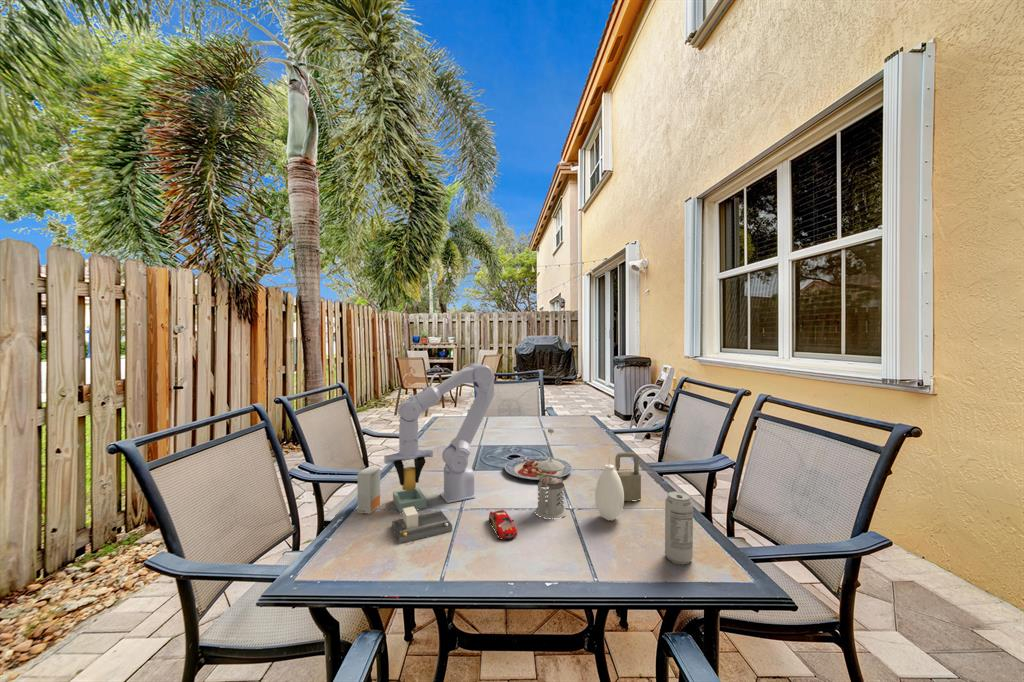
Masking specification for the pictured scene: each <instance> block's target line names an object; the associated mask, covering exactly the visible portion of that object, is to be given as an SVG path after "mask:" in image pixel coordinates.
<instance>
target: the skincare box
mask: <svg viewBox="0 0 1024 682" xmlns="http://www.w3.org/2000/svg"><path fill="white" fill-rule="evenodd" d="M379 506H380V507H381V467H375V466H368V467H366V468H363V469H362V470H361V471H359V472H358V473H357V513H358V512H360V513H359V514H363V513H368V514H367V515H370V513H371V514H372V513H373V512H374V511H375V509H376V510H377V509H378V508H380V507H379Z"/></svg>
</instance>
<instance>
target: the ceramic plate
mask: <svg viewBox="0 0 1024 682" xmlns="http://www.w3.org/2000/svg"><path fill="white" fill-rule="evenodd" d="M545 460H555V461H559V462H560V463H562V464H563V465H564V466H565V467H564V469H563V470H561V471H557V472H546V471H542V470H540V469H539V468H538V467H537V465H538V464H539V463H541V462H542V461H545ZM503 468H504V470H505V471H506V473H508V474H510V475H511V476H514V477H517V478H520V479H527V480H535V481H536V480H537V481H539V478H540V477H542V476H543V475H544V476H546V475H552V476H558V477H561V478H563V477H565V476H567V475H569V474H570V473H571V472H572V471H573V467H572V465H571V464H570V463H569V462H567V461H565V460H563V459H560V458H558V457H557V458H556V457H552V456H542V455H541V456H540V455H538V456H536V455H535V456H533V455H531V456H524V457H523V456H522V457H516V458H514V459H511V460H509V461H507V462H506V463H505V464H504V467H503Z"/></svg>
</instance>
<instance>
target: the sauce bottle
mask: <svg viewBox="0 0 1024 682" xmlns="http://www.w3.org/2000/svg"><path fill="white" fill-rule="evenodd" d="M617 472H618V471H617V469H616V468H615V466H614V465H613V464H611V457H610V456H609V457H608V464H605V466H604V469H602V471H601V473H600V475H599V477H598V479H597V482H596V487H595V492H594V494H595V495H594V499H595V501H594V502H595V505H596V508H597V511H598V513H599V514H600V516H602V517H603V518H604V519H605V520H607V521H609V520H611V521H614V520H616V519H617V518H618V517H620V515H621V514H622V511H623V509H624V504H625V502H624V491H623V486H622V482H621V480H620V477H619V475H618V473H617Z"/></svg>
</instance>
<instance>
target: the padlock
mask: <svg viewBox="0 0 1024 682" xmlns="http://www.w3.org/2000/svg"><path fill="white" fill-rule="evenodd" d="M621 458H633V471H626V470H625V471H624V470H623V471H620V467H621ZM614 459H615V462H614V463H615V466H614V468H615V470H616V472H617V473H618V475H619V477H620V480H621V482H622V486H623V491H624V501H632V500H638V499H641V500H642V474H641V473H640V466H639V465H640V463H639V462H640V457H639V455H638V454H637V453H636V452H632V451H631V452H630V451H629V452H626V451H625V452H624V451H623V452H618V453H617V454H616V455H615V458H614Z"/></svg>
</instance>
